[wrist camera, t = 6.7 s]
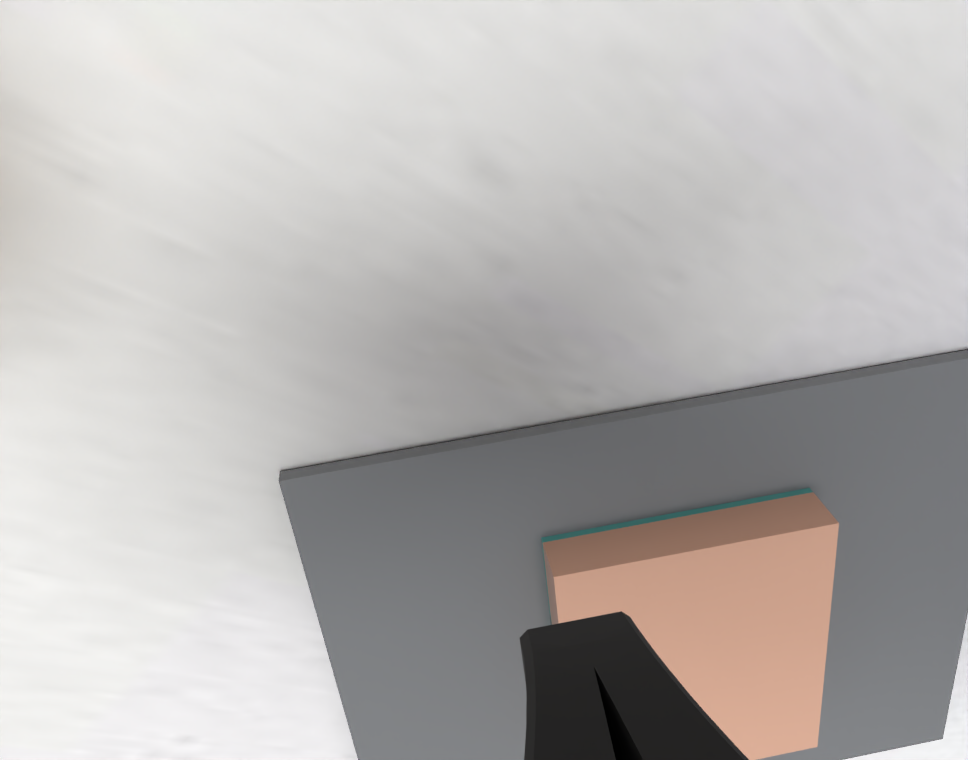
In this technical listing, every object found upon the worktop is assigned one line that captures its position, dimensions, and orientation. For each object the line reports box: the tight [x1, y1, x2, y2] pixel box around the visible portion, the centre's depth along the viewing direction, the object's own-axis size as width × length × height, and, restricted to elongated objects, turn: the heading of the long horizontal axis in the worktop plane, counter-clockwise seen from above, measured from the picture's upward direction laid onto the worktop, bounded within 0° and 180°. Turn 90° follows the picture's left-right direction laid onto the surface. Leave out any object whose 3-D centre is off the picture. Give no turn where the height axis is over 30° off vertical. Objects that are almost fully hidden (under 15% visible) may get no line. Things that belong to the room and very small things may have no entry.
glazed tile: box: [541, 488, 839, 760], centre depth 23 cm, size 2×8×7 cm
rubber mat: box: [279, 350, 968, 760], centre depth 24 cm, size 18×14×1 cm
